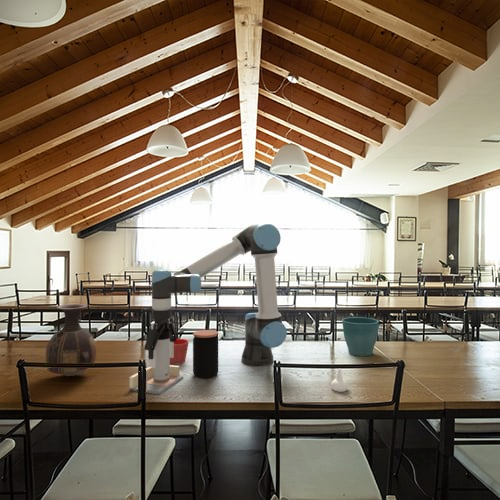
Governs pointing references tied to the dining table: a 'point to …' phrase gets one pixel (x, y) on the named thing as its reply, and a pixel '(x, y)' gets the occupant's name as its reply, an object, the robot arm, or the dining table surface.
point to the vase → (71, 343)
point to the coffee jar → (205, 354)
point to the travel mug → (162, 358)
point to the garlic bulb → (339, 383)
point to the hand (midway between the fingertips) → (161, 362)
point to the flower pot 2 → (360, 335)
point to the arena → (156, 386)
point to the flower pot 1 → (179, 351)
